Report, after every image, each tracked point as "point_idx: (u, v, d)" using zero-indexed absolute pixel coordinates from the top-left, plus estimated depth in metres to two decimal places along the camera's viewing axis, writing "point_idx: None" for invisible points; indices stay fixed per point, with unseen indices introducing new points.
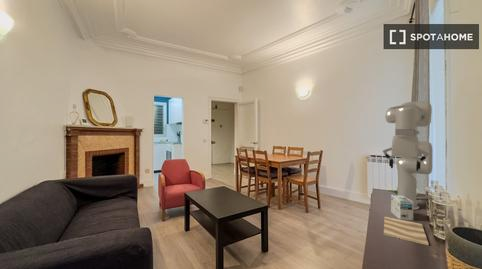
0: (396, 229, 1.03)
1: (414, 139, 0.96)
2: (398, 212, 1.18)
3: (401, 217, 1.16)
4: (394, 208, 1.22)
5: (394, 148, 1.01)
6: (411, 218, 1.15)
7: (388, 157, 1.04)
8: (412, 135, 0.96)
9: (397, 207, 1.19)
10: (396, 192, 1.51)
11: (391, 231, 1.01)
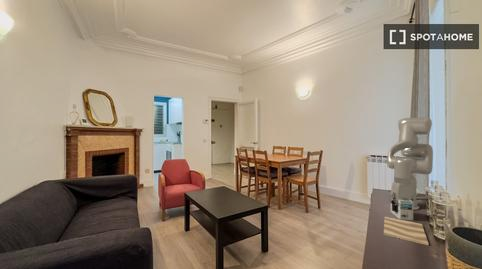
0: (396, 229, 1.03)
1: (410, 186, 1.19)
2: (398, 212, 1.18)
3: (401, 217, 1.16)
4: None
5: (399, 194, 1.17)
6: (411, 218, 1.15)
7: (394, 203, 1.19)
8: (410, 183, 1.18)
9: None
10: None
11: (391, 231, 1.01)
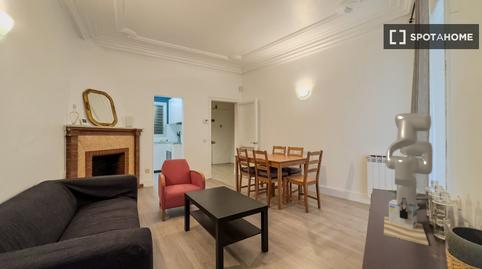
0: (396, 229, 1.03)
1: None
2: (409, 221, 1.05)
3: (413, 226, 1.04)
4: (398, 216, 1.08)
5: (409, 198, 1.05)
6: (416, 223, 1.07)
7: (405, 209, 1.04)
8: None
9: None
10: (396, 192, 1.51)
11: (391, 231, 1.01)
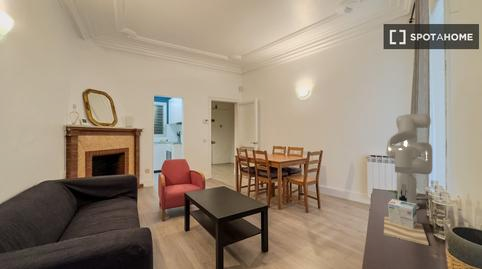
0: (396, 229, 1.03)
1: None
2: (409, 221, 1.04)
3: (413, 226, 1.04)
4: (398, 217, 1.08)
5: (409, 185, 1.08)
6: (416, 222, 1.07)
7: (405, 196, 1.10)
8: None
9: (406, 216, 1.05)
10: (396, 192, 1.51)
11: (391, 231, 1.01)
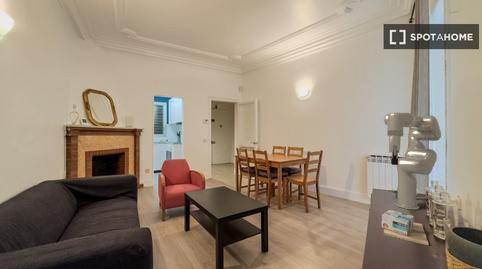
0: None
1: None
2: None
3: (412, 228, 1.03)
4: None
5: (399, 146, 1.19)
6: (413, 218, 1.03)
7: None
8: None
9: None
10: (396, 192, 1.51)
11: (391, 231, 1.01)
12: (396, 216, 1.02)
